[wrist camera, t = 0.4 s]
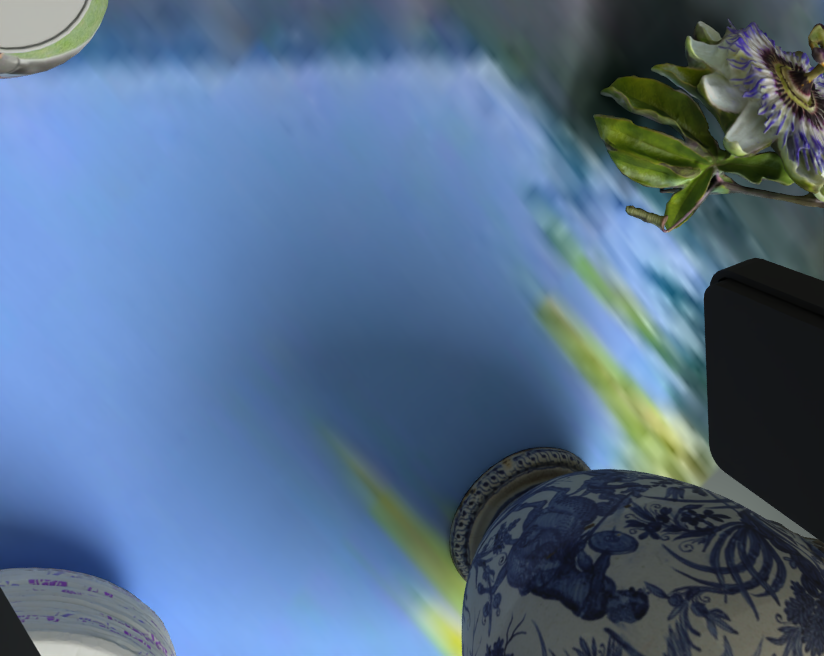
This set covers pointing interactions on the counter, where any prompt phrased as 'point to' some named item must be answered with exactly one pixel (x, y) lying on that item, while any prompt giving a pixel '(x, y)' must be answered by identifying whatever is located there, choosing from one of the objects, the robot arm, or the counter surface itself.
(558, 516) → the decorative vase
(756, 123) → the passion flower
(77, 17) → the beverage can
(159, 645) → the paper bowls
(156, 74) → the counter surface
